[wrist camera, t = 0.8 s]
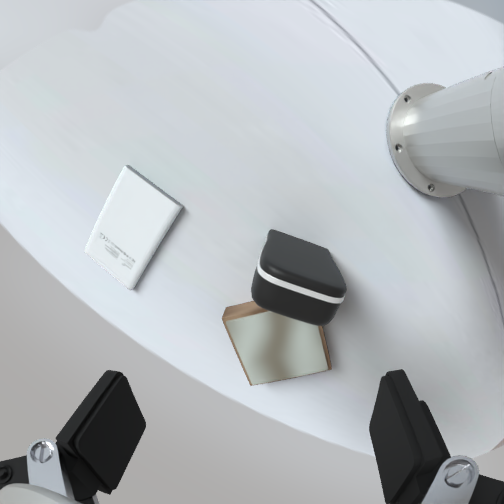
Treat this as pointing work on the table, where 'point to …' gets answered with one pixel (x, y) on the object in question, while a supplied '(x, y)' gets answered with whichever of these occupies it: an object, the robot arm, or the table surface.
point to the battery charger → (297, 280)
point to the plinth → (274, 344)
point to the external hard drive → (131, 226)
